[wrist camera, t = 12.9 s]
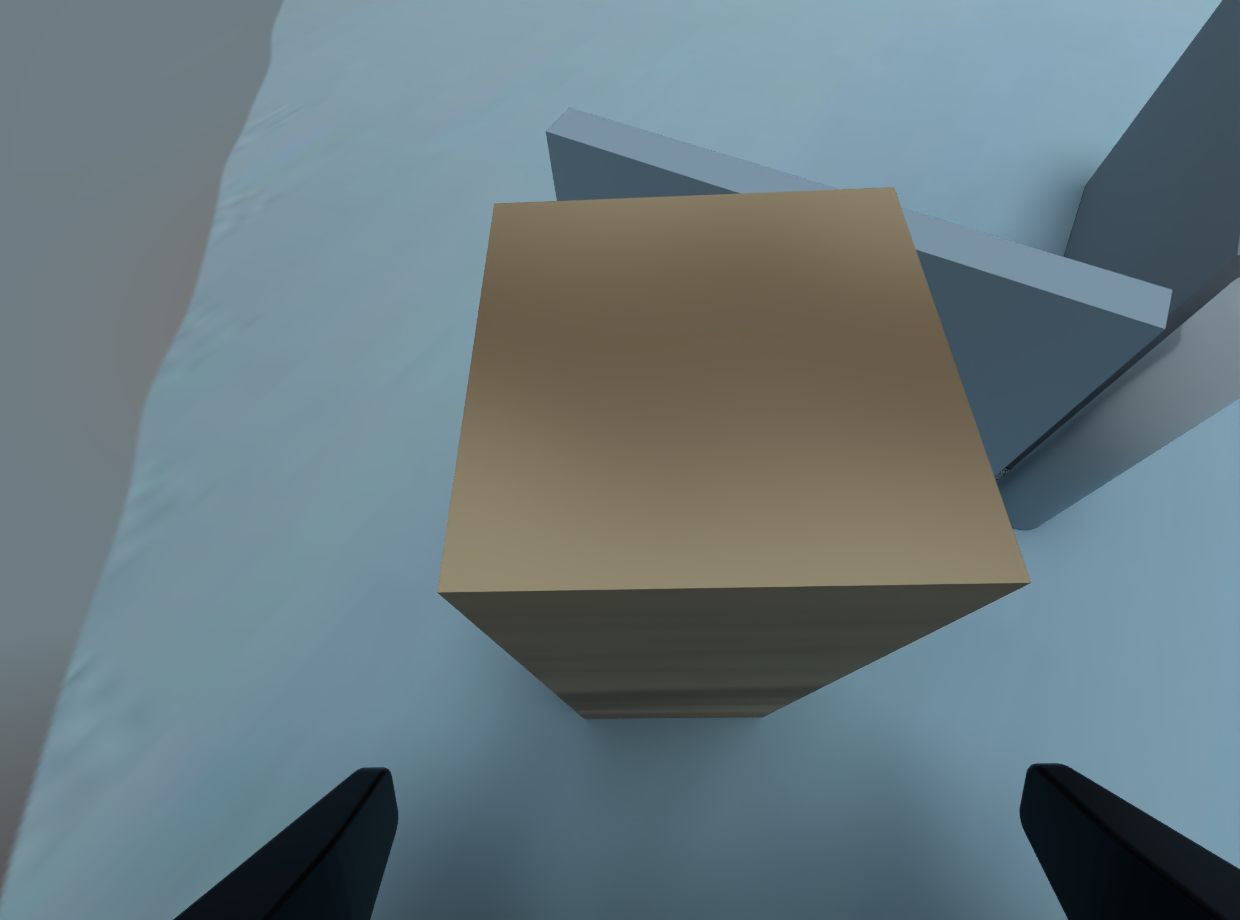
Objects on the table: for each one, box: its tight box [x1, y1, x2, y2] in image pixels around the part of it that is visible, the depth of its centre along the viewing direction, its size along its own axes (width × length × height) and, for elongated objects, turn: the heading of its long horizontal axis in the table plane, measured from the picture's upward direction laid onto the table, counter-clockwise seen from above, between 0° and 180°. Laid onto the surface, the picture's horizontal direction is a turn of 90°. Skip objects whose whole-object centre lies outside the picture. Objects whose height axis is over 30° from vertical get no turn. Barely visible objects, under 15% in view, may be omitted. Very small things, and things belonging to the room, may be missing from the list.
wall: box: [996, 0, 1240, 530], centre depth 18 cm, size 18×2×9 cm, turn 150°
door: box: [546, 108, 1172, 477], centre depth 18 cm, size 15×2×8 cm, turn 60°
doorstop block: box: [437, 187, 1031, 719], centre depth 12 cm, size 5×5×13 cm
